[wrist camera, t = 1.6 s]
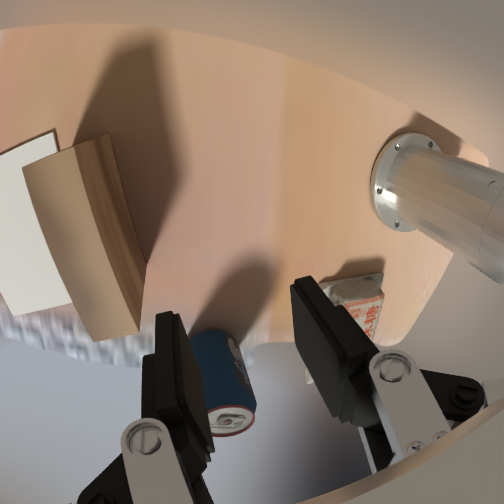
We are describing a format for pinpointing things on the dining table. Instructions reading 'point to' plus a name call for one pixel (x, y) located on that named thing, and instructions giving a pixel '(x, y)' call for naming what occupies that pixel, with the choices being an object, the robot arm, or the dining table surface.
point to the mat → (26, 237)
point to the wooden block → (90, 235)
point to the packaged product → (357, 301)
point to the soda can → (224, 383)
